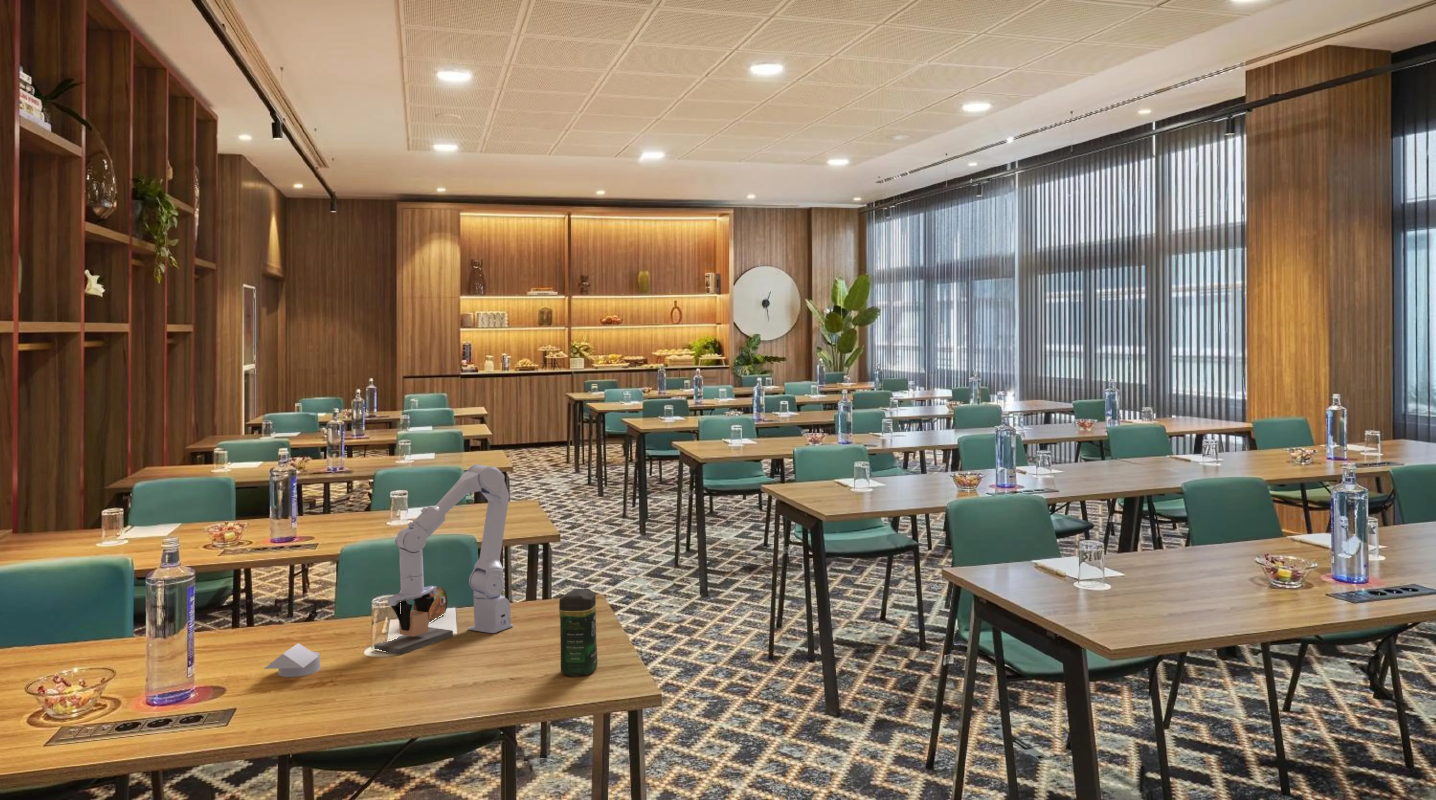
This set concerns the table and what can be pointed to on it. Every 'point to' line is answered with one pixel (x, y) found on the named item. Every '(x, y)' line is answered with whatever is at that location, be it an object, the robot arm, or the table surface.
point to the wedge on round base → (296, 662)
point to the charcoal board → (414, 641)
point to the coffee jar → (578, 632)
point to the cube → (416, 624)
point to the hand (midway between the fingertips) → (413, 627)
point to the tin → (437, 604)
